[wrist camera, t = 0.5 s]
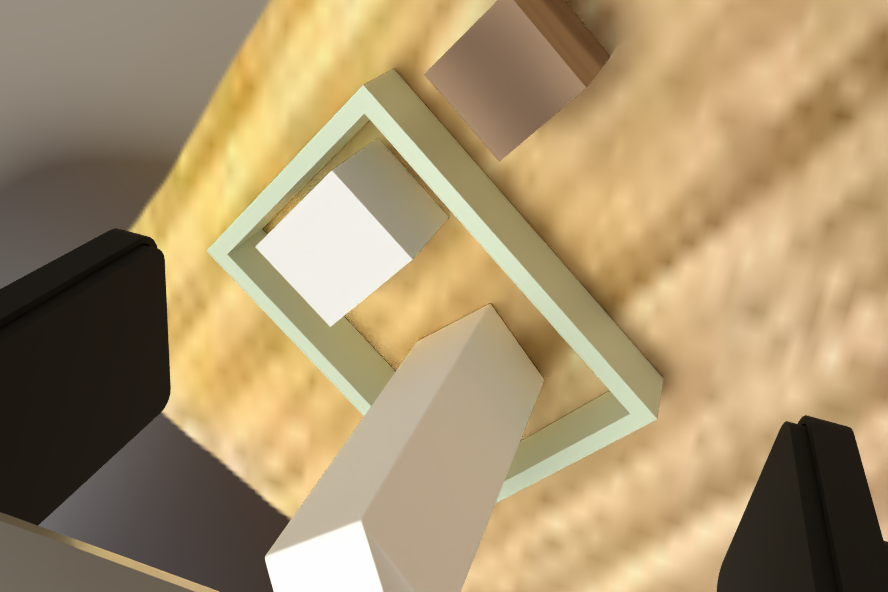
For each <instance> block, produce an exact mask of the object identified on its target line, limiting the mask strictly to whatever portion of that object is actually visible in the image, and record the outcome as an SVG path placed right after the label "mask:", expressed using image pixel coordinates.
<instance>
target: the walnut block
mask: <svg viewBox="0 0 888 592" xmlns="http://www.w3.org/2000/svg"><path fill="white" fill-rule="evenodd" d="M609 57H610V55H609V54H608V53H607V52H606V50H605V49H604V48H603V47H602V46H601V44H600V43H599V42H598V41H597V39H596V38H595V37H594V36H593V35H592V33H591V32H590V31H589V30H588V28H587V27H586V26H585V25H584V23H583V22H582V21H581V20H580V19H579V17H578V16H577V15H576V14H575V12H574V11H573V10H572V9H571V8H570V6H569V5H568V4H567V3H566V1H565V0H498V1H497V2H496V3H495V4H494V5H493V6H492V7H491V8H490V9H489V10H488V11H487V12H486V13H485V14H484V15H483V16H482V17H481V18H480V19H479V20H478V21H477V22H476V23H475V24H474V25H473V26H472V27H471V28H470V29H469V30H468V31H467V32H466V33H465V34H464V35H463V36H462V37H461V38H460V39H459V40H458V41H457V42H456V43H455V44H454V45H453V46H452V47H451V48H450V49H449V50H448V51H447V52H446V53H445V54H444V55H443V56H442V57H441V58H440V59H439V60H438V61H437V62H436V63H435V64H434V65H433V66H432V67H431V68H430V69H429V70H428V71H427V72H426V73H425V74H424V75H425V76H426V77H427V78H428V80H429V81H430V82H431V83H432V84H433V85H434V87H435V88H436V89H437V90H438V91H439V92H440V93H441V95H442V96H443V97H444V98H445V99H446V100H447V102H448V103H449V104H450V105H451V106H452V107H453V109H454V110H455V111H456V112H457V113H458V114H459V115H460V117H461V118H462V119H463V120H464V121H465V122H466V124H467V125H468V126H469V127H470V128H471V129H472V131H473V132H474V133H475V134H476V135H477V136H478V138H479V139H480V140H481V141H482V142H483V143H484V144H485V146H486V147H487V148H488V149H489V150H490V151H491V153H492V154H493V155H494V156H495V157H496V158H497V160H498V161H499V162H500V161H501V160H502V159H503V158H504V157H505V156H507V155H508V154H509V153H510V152H511V151H512V150H514V149H515V148H516V147H517V146H518V145H520V144H521V143H522V142H523V141H524V140H525V139H527V138H528V137H529V136H530V135H531V134H533V133H534V132H535V131H536V130H537V129H538V128H540V127H541V126H542V125H543V124H544V123H546V122H547V121H548V120H549V119H550V118H551V117H553V116H554V115H555V114H556V113H557V112H559V111H560V110H561V109H562V108H563V107H564V106H566V105H567V104H568V103H569V102H570V101H572V100H573V99H574V98H575V97H576V96H577V95H579V94H580V93H581V92H582V91H583V90H585V89H586V88H587V86H588V85H589V84H590V83H591V81H592V80H593V79H594V77H595V76H596V75H597V73H598V72H599V71H600V69H601V68H602V67H603V65H604V64H605V63H606V61H607V60H608V59H609Z"/></svg>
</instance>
